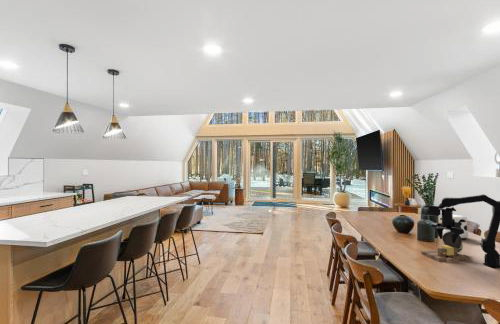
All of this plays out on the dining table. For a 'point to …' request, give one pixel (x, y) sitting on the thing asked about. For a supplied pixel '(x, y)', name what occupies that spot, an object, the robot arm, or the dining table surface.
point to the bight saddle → (448, 249)
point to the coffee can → (448, 241)
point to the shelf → (443, 254)
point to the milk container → (463, 222)
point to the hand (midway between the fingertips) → (447, 241)
